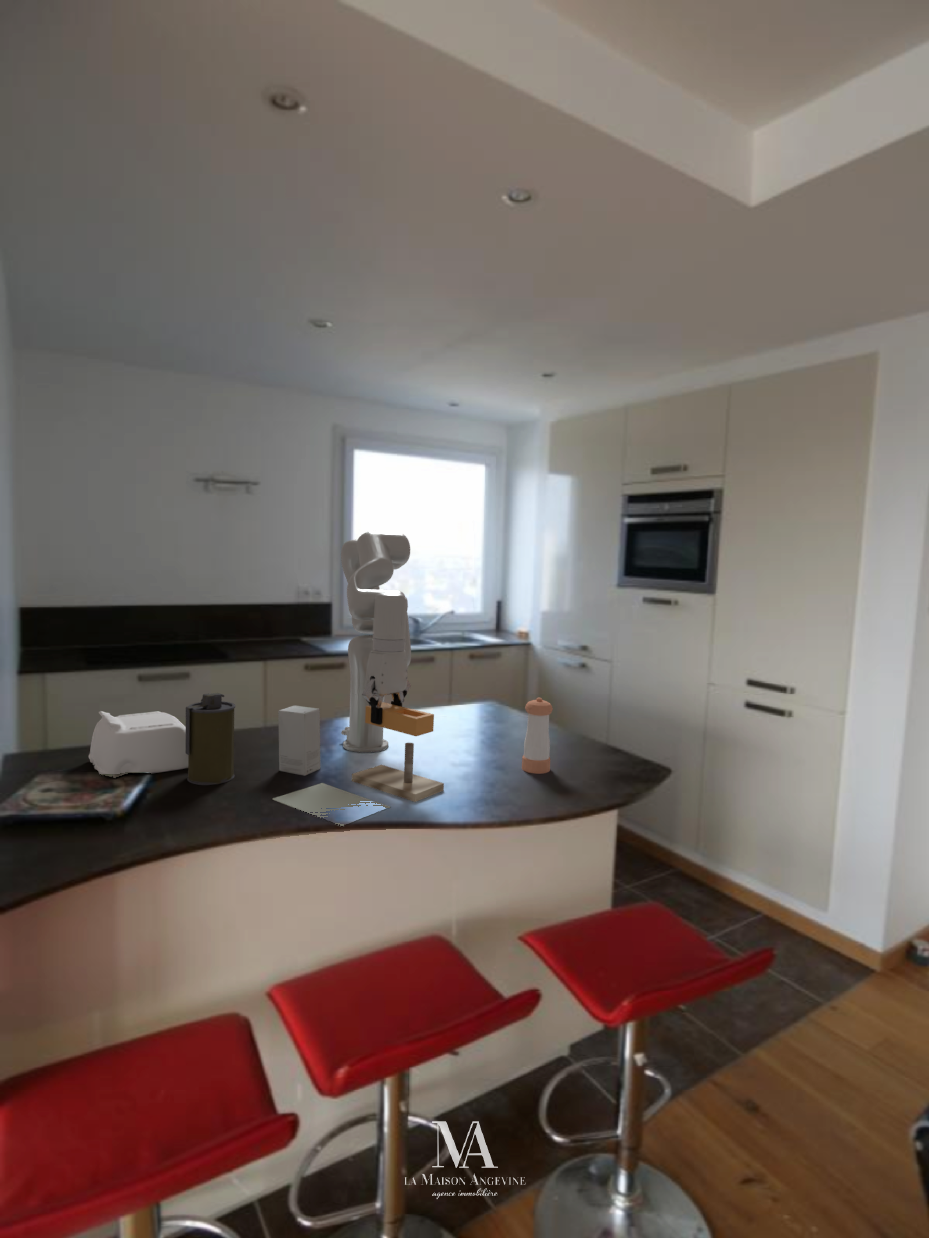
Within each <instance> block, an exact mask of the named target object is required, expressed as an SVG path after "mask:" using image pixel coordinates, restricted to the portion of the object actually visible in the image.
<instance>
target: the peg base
mask: <svg viewBox="0 0 929 1238" xmlns="http://www.w3.org/2000/svg"><path fill="white" fill-rule="evenodd" d="M414 747H415V743H414V742H405V743H404V768H403V769H404V770H401V769H398V768H394V767H391V766H387V765H385V764H379V765H376V766H372V767H369V768H366V769H363V770H360V771H357V772H353V773H351V782H353V783H356V784H358V785H362V786H364V787H368V788H371V789H375V790H377V791H380V792H384V793H387V794H389V795H393V796H395V797H399V798H402V799H404V800H408V801H411V802H414V803H416V802H419V801H421V800H424V799H425V798H429V797H431V796H433V795H436V794H438V793H441V792H444V789H445V783H444V782H441V781H438V780H434V779H431V778H427V777H424V776H420V775H417V774H414V753H415V752H414V751H415V750H414V749H415V748H414Z"/></svg>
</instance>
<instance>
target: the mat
mask: <svg viewBox="0 0 929 1238" xmlns="http://www.w3.org/2000/svg"><path fill="white" fill-rule="evenodd" d="M272 800H273V801H275V802H278V803H280V804H282V805H285V806H288V807H290V808H292V809H295V808H296V810H297V811H300V810H301V812H303V811H304V812H303V813H305V812H307V813H306V814H308V813H309V814H308V815H310V814H312V815H311V816H313V815H317V817H316V818H318V817H320V818H319V819H321V817H323V818H324V817H328V816H320V815H321V814H322V815H326V814H328V813H320V812H326V811H330V810H331V811H332V810H334V811H335V810H339V809H326V808H341V807H353V806H358V807H359V806H361V805H357V804H359V803H365V804H366V803H370V802H360V801H371V800H372V799H369V798H366V797H363V796H361V795H358V794H355V793H352V792H349V791H346V790H343V789H340V788H337V787H334V786H332V785H329V784H326V783H324V782H321V783H317V784H314V785H312V786H308V787H305V788H302V789H298V790H295V791H292V792H289V793H286V794H284V795H280V796H276V797H273V798H272ZM372 801H374V800H372ZM371 803H375V804H376V803H377V804H381V805H373V806H383V807H385V808H389V809H391V808H390V807H391V806H389V805H387V804H383V803H380V802H378V801H375V802H371ZM348 804H349V805H348ZM351 804H356V805H351ZM382 804H383V805H382ZM366 806H368V805H366ZM321 808H322V809H321ZM340 810H345V809H340ZM310 812H313V813H310ZM315 812H318V813H315ZM329 814H330V813H329ZM336 824H338V825H337V826H339V824H340V823H335V824H334V825H336ZM341 826H343V827H345V826H344V824H340V826H339V827H341Z"/></svg>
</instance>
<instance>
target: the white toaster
mask: <svg viewBox="0 0 929 1238" xmlns="http://www.w3.org/2000/svg"><path fill="white" fill-rule="evenodd" d="M97 713H98V714H99V715H100V717H101V718H100V719H99V721H97V722H96V725H95V726H94V730H93V733H92V737H91V743H90V751H89V753H88V759H89V762H90V763H92V765H93V768H94V770H97V771H98V774H99V775H100V774H120V773H125V772H150V773H151V774H156V773H164V772H171V771H179V770H183V769H188V755H187V754H186V725H184V724H183V723H182V722H181V721H180V719H178V718H177V717H176V716H174V715H172V714H170V713H167V712H163V711H162V712H161V711H158V710H157V711H149V712H138V713H130V714H129V713H128V714H119V715H117V716H113V715H111V713H110V712H105V711H102V710H99V711H98V712H97Z"/></svg>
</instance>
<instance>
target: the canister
mask: <svg viewBox="0 0 929 1238" xmlns="http://www.w3.org/2000/svg"><path fill="white" fill-rule="evenodd" d="M224 697H225V695H224V694H222V693H219V692H215V693H204V694H202V698H201V700H200V701H199V702H194V703H191V704H189V705H188V706H186V707H185V727H186V754H187V755H188V768H187V769H188V770H187V773H188V776H187V777H186V778H187V779H186V780H187V782H189V783H191V784H193V785H197V786H198V785H199V786H210V785H211V786H213V785H214V786H215V785H220V784H225V783H227V782H230V781H232V780H233V779H234V778H235V772H234V771H235V770H234V769H235V768H234V767H235V708H236V704H234V703H233V702H230V701H224V700H223V699H222V698H224Z"/></svg>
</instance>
